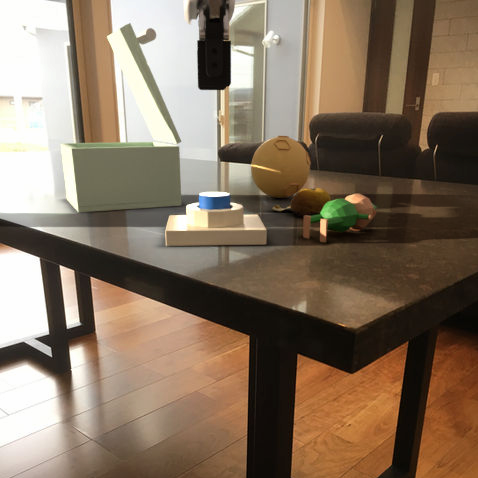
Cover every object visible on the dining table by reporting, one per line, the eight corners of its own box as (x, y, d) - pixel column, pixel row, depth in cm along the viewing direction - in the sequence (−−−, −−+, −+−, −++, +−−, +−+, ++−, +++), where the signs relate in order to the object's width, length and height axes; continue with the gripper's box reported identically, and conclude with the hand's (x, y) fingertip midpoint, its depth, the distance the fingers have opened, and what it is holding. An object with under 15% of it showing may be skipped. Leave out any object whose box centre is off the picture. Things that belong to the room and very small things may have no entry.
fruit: (318, 206, 80) (319, 182, 79) (347, 216, 73) (349, 189, 71) (269, 210, 77) (269, 185, 76) (294, 220, 70) (296, 192, 69)
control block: (165, 246, 56) (164, 213, 55) (169, 228, 65) (168, 200, 63) (266, 244, 57) (267, 212, 56) (257, 227, 65) (258, 199, 64)
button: (199, 212, 58) (198, 196, 57) (199, 207, 61) (198, 191, 61) (231, 212, 58) (231, 196, 57) (229, 206, 61) (229, 191, 61)
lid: (125, 25, 69) (156, 11, 70) (106, 36, 80) (134, 24, 81) (177, 144, 77) (204, 130, 78) (153, 139, 88) (178, 127, 89)
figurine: (292, 236, 62) (354, 222, 69) (338, 245, 57) (400, 229, 64) (292, 198, 60) (356, 187, 67) (340, 204, 55) (403, 192, 62)
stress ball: (259, 203, 83) (260, 137, 79) (244, 194, 92) (245, 134, 88) (317, 201, 85) (321, 136, 81) (297, 192, 94) (300, 134, 90)
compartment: (78, 212, 75) (71, 148, 71) (66, 199, 85) (60, 143, 82) (181, 205, 81) (179, 146, 77) (158, 194, 91) (156, 141, 88)
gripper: (173, -86, 56) (180, 91, 63) (164, -166, 40) (174, 84, 47) (242, -84, 57) (241, 91, 63) (261, -161, 41) (257, 84, 47)
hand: (213, 87), depth 55 cm, fingers open, 7 cm apart
